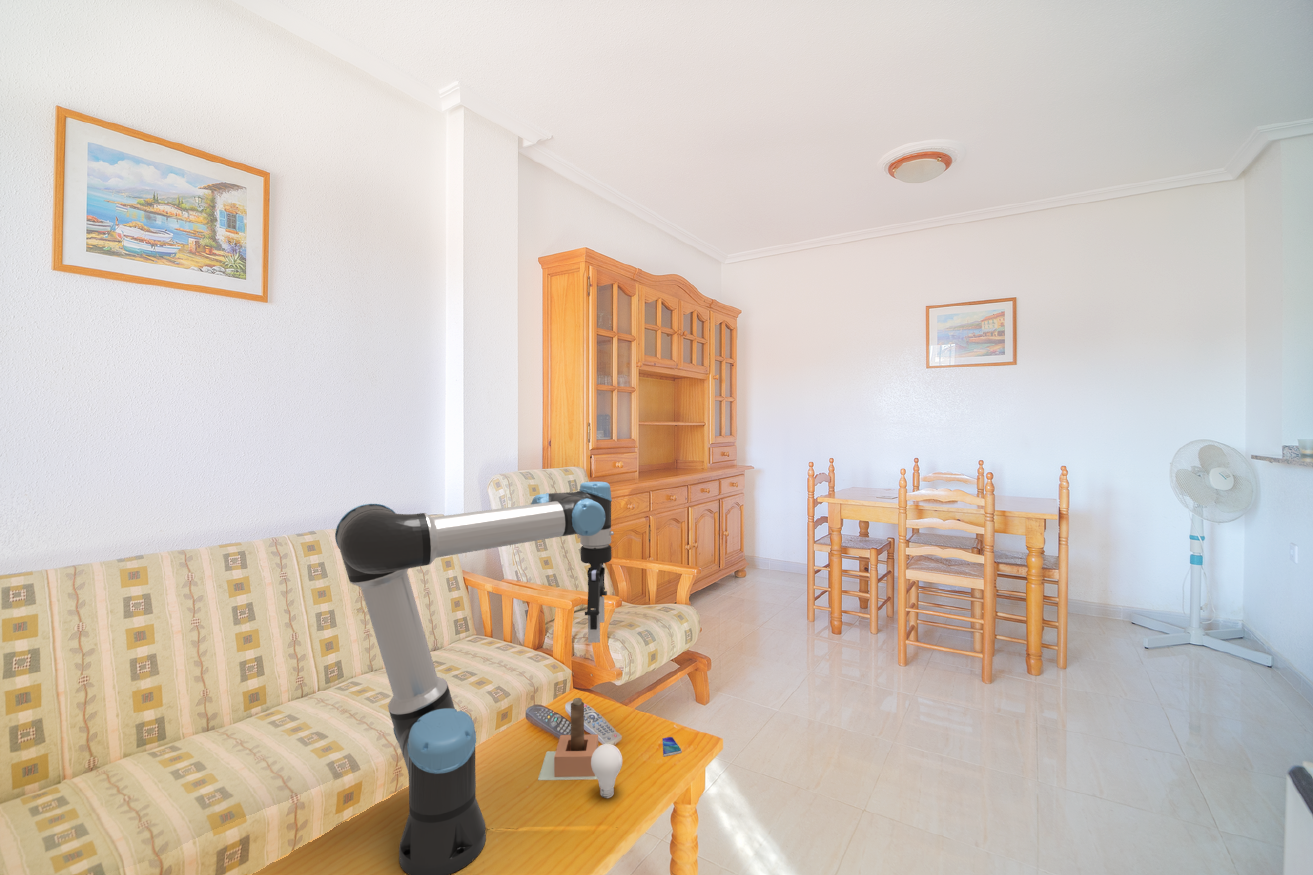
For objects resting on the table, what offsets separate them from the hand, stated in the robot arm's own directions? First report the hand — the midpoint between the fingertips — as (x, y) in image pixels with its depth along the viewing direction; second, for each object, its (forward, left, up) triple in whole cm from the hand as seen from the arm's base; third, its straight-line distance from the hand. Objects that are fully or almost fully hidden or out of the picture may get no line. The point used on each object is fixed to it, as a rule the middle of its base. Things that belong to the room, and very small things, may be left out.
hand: (596, 631), depth 137 cm
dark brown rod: (-4, -8, -28) cm, 29 cm away
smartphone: (+12, -1, -29) cm, 32 cm away
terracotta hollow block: (-4, -8, -28) cm, 29 cm away
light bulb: (+4, -19, -29) cm, 35 cm away
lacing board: (-4, -8, -29) cm, 30 cm away
